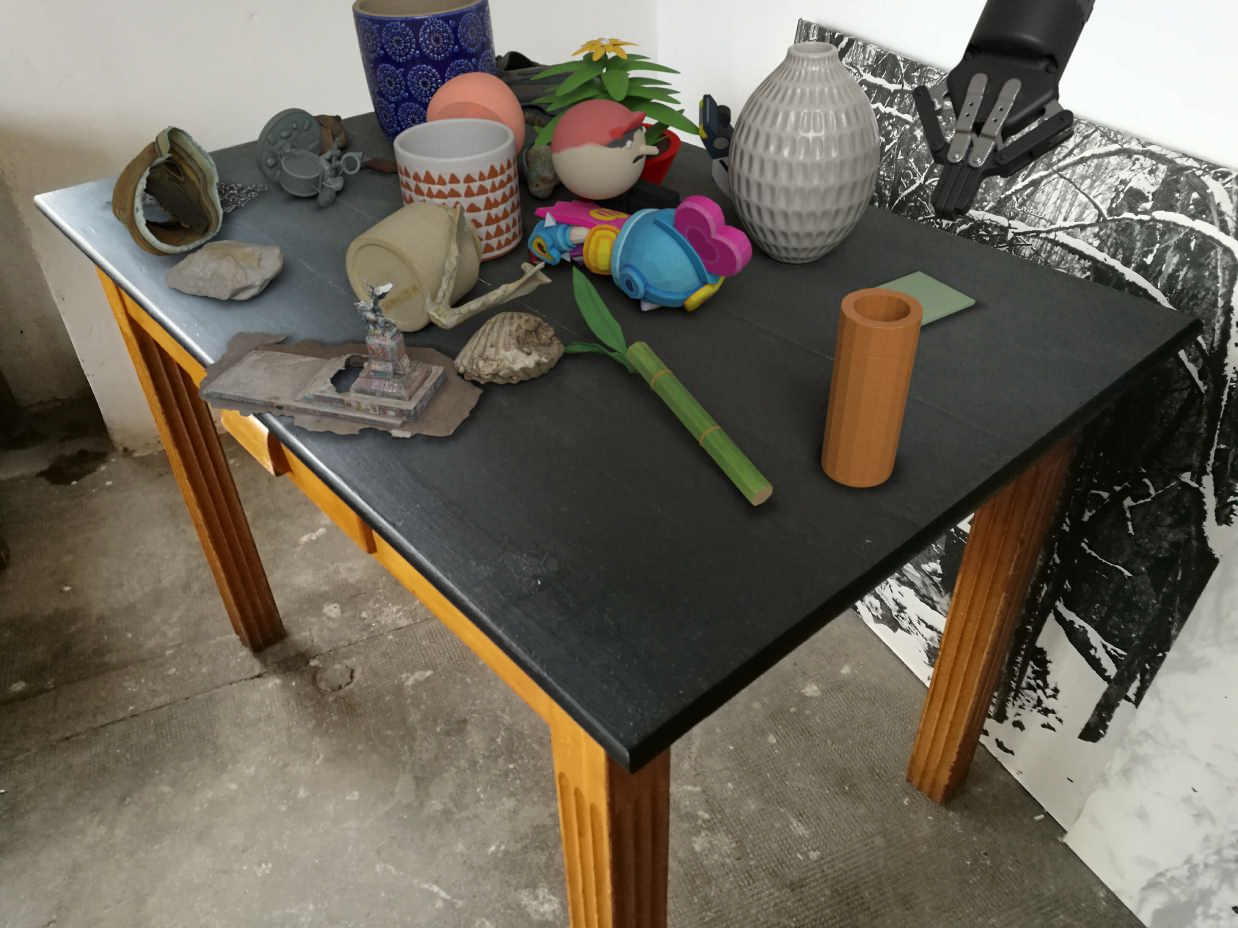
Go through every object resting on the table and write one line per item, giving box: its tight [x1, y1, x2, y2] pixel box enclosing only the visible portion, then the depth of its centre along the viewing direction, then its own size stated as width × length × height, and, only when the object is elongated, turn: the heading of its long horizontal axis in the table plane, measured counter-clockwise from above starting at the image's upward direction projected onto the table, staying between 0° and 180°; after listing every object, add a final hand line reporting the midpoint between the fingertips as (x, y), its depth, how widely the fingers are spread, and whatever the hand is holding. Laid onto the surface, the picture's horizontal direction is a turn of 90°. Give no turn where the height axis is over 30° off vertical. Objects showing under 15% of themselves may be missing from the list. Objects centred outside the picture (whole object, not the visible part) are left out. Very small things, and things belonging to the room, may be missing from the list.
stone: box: [164, 239, 285, 301], centre depth 104 cm, size 14×6×10 cm
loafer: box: [496, 50, 604, 117], centre depth 148 cm, size 11×30×9 cm, turn 59°
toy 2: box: [593, 178, 683, 215], centre depth 104 cm, size 8×4×15 cm
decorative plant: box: [563, 265, 773, 507], centre depth 81 cm, size 6×8×30 cm
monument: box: [197, 279, 484, 439], centre depth 85 cm, size 30×16×13 cm, turn 73°
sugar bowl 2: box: [427, 72, 526, 158], centre depth 115 cm, size 12×14×10 cm
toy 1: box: [551, 99, 659, 200], centre depth 97 cm, size 10×12×10 cm
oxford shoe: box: [111, 125, 224, 257], centre depth 113 cm, size 28×10×11 cm
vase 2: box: [393, 118, 524, 263], centre depth 108 cm, size 14×14×13 cm
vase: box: [728, 41, 881, 264], centre depth 99 cm, size 16×16×22 cm
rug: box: [105, 181, 268, 216], centre depth 126 cm, size 10×20×1 cm, turn 72°
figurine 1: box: [254, 107, 366, 208], centre depth 123 cm, size 11×11×12 cm
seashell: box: [454, 311, 565, 385], centre depth 87 cm, size 11×7×10 cm
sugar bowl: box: [344, 202, 482, 333], centre depth 98 cm, size 15×11×15 cm
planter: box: [351, 0, 498, 148], centre depth 129 cm, size 18×18×21 cm
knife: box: [360, 156, 398, 174], centre depth 126 cm, size 28×1×5 cm
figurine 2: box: [313, 114, 348, 161], centre depth 139 cm, size 14×4×9 cm
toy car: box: [698, 93, 734, 200], centre depth 110 cm, size 5×16×5 cm
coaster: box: [874, 270, 976, 327], centre depth 96 cm, size 8×8×1 cm
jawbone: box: [425, 203, 553, 330], centre depth 87 cm, size 12×13×8 cm
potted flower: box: [530, 37, 699, 203], centre depth 111 cm, size 24×25×20 cm
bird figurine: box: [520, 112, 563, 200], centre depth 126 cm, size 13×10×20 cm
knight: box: [527, 194, 753, 312], centre depth 96 cm, size 12×14×30 cm
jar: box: [820, 287, 923, 488], centre depth 71 cm, size 6×6×15 cm
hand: (944, 216), depth 71 cm, fingers closed
